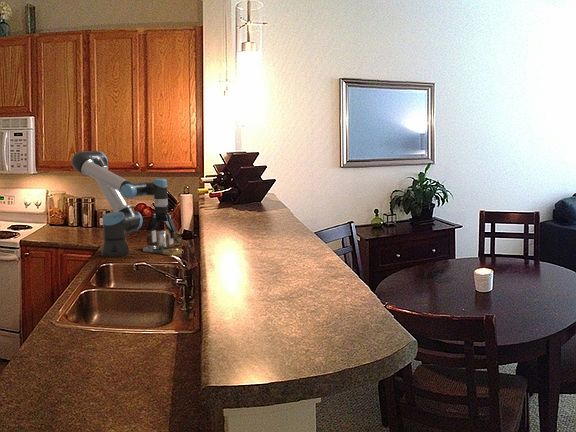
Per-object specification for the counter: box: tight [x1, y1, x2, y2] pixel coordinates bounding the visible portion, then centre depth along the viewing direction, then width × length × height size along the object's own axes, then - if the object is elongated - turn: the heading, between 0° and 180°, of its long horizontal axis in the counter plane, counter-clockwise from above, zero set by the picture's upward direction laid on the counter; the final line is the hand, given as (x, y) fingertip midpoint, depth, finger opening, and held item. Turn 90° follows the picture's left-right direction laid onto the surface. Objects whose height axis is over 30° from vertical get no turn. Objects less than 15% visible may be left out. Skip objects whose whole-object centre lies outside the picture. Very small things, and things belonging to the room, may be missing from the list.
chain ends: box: [142, 245, 184, 256], centre depth 311 cm, size 24×8×3 cm, turn 57°
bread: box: [146, 228, 182, 248], centre depth 329 cm, size 19×11×10 cm, turn 141°
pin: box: [157, 230, 166, 250], centre depth 311 cm, size 5×5×12 cm
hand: (162, 243), depth 311 cm, fingers open, 13 cm apart
